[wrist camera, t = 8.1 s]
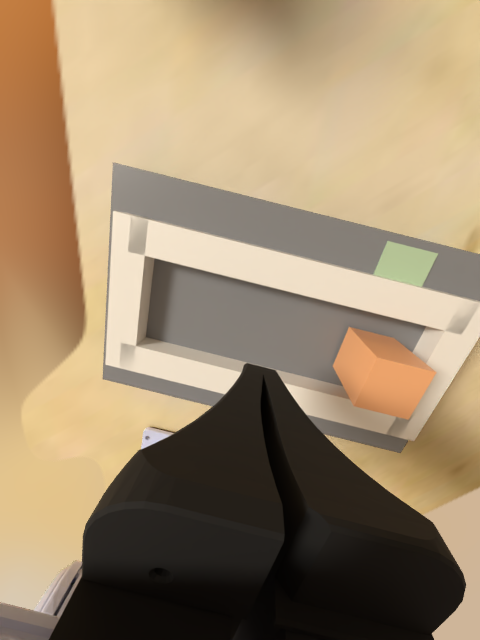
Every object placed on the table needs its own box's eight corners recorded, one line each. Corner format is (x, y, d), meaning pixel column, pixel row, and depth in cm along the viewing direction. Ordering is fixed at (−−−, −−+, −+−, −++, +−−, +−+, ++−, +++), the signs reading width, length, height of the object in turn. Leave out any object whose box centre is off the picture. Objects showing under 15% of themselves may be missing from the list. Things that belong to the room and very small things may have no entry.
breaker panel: (385, 429, 22) (411, 470, 18) (119, 363, 22) (90, 390, 18) (481, 259, 17) (544, 267, 13) (134, 172, 17) (97, 154, 13)
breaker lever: (374, 376, 17) (408, 419, 13) (332, 366, 17) (353, 406, 13) (393, 337, 16) (436, 372, 12) (349, 326, 16) (377, 357, 12)
